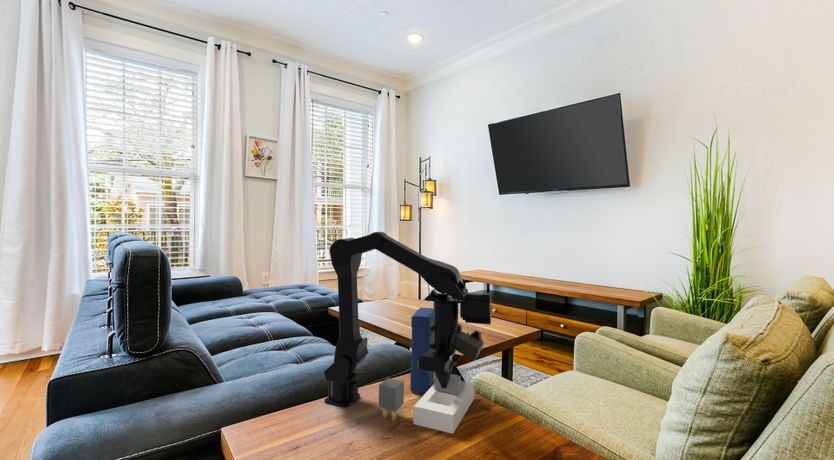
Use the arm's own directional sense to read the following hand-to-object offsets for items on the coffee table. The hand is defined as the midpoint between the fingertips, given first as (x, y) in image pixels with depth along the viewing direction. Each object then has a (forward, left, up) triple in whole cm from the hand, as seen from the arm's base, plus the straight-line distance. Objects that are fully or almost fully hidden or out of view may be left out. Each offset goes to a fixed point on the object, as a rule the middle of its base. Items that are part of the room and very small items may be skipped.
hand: (444, 387), depth 90 cm
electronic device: (-10, +11, -6) cm, 16 cm away
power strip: (0, +1, -6) cm, 6 cm away
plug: (-10, -6, -6) cm, 14 cm away
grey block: (0, +4, -2) cm, 5 cm away
